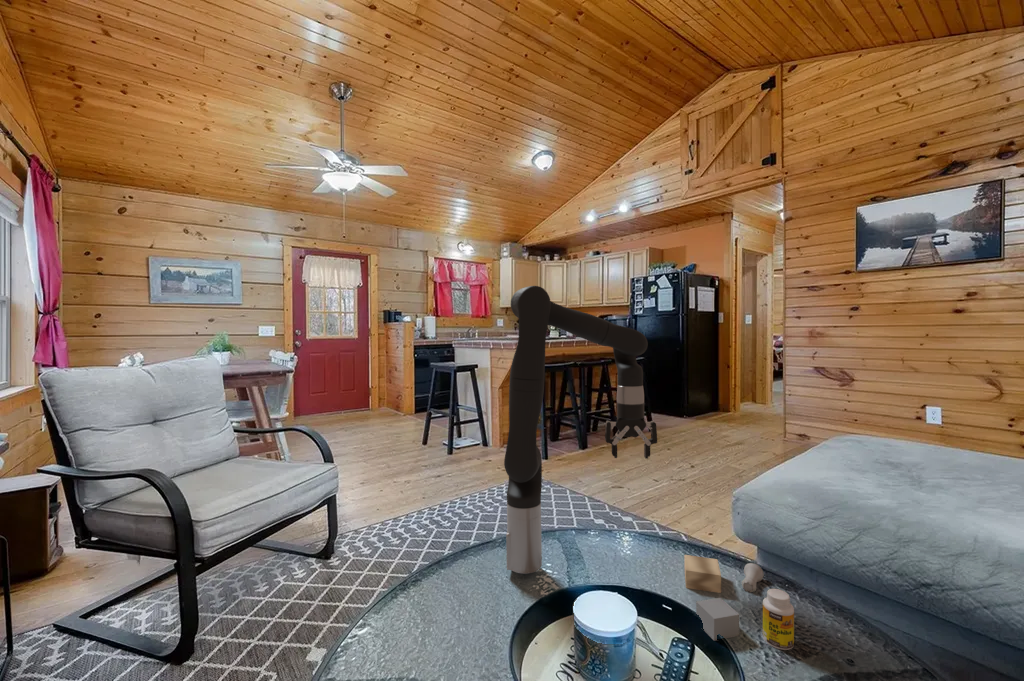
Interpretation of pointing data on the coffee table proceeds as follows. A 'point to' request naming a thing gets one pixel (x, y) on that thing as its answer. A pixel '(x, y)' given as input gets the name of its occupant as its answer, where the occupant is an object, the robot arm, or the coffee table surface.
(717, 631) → the slate block
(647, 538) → the coffee table surface
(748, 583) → the rook chess piece
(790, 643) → the supplement bottle
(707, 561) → the oak block
